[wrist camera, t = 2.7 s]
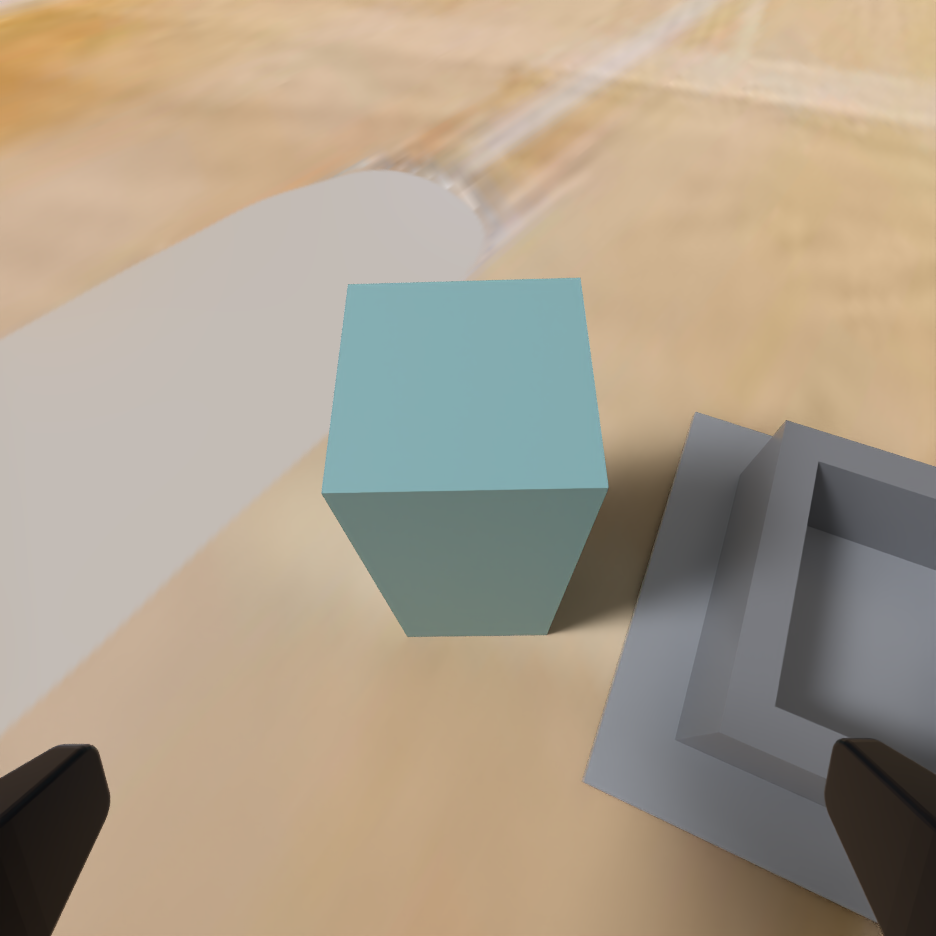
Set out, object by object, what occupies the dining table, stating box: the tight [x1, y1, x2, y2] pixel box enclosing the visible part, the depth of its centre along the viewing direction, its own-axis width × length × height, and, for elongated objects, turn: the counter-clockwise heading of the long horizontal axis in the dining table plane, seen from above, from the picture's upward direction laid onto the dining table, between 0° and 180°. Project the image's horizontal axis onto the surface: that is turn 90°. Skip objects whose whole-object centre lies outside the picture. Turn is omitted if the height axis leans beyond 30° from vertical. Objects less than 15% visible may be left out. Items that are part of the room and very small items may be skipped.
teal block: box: [322, 278, 609, 637], centre depth 16 cm, size 5×5×12 cm
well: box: [582, 412, 936, 923], centre depth 18 cm, size 15×15×4 cm
